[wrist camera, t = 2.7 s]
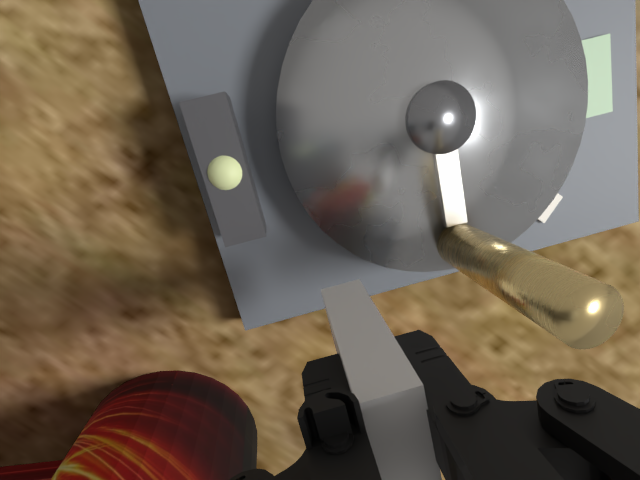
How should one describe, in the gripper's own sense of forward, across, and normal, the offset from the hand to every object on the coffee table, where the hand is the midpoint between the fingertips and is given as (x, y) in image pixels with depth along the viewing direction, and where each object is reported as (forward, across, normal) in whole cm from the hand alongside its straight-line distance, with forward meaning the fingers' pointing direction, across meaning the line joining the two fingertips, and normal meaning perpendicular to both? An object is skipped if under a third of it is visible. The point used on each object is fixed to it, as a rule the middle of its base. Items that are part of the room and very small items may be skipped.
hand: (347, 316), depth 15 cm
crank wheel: (+5, +6, +6) cm, 10 cm away
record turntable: (+7, +6, +6) cm, 11 cm away
